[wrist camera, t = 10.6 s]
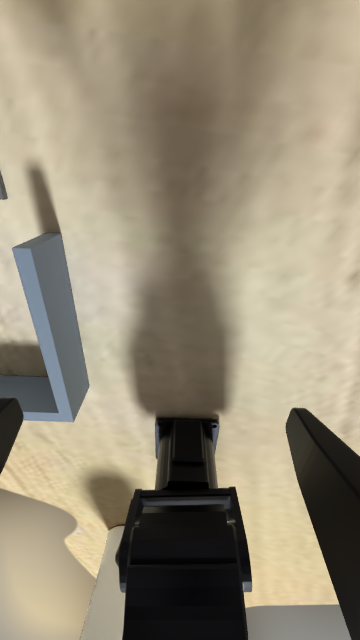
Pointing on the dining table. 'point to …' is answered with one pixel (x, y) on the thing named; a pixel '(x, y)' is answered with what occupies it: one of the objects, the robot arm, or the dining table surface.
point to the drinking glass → (106, 596)
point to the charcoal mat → (2, 189)
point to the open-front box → (49, 335)
